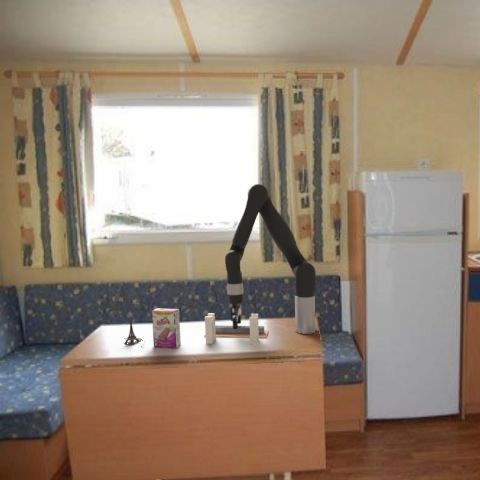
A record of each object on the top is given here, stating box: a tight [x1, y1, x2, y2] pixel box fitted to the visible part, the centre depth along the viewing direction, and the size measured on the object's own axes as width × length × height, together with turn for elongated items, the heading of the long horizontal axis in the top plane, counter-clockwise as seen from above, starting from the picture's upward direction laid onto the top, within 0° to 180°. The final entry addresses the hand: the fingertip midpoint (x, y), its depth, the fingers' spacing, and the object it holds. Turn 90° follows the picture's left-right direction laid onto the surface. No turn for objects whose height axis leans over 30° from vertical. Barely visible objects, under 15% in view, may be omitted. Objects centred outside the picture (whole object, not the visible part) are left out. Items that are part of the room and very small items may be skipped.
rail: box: [215, 324, 265, 335], centre depth 193 cm, size 26×3×3 cm, turn 80°
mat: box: [203, 329, 269, 339], centre depth 193 cm, size 29×10×1 cm, turn 80°
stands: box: [204, 312, 260, 346], centre depth 182 cm, size 23×6×12 cm, turn 80°
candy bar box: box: [151, 307, 182, 349], centre depth 180 cm, size 11×5×16 cm, turn 74°
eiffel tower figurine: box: [123, 315, 143, 348], centre depth 186 cm, size 15×10×13 cm
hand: (237, 326), depth 193 cm, fingers open, 8 cm apart
